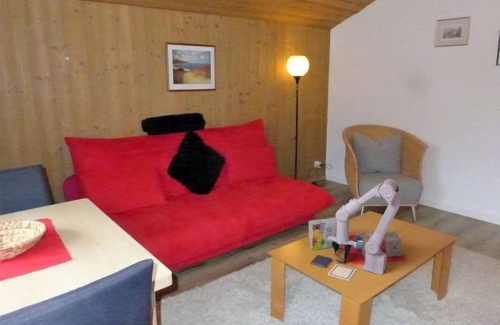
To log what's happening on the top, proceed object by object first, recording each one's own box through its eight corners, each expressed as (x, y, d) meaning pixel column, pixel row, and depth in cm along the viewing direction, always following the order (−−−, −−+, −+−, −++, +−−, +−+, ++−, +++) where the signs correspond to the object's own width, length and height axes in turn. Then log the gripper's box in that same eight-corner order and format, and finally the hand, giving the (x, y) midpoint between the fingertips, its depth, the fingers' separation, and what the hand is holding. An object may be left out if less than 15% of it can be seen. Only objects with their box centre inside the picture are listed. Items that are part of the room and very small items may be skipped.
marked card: (356, 270, 175) (356, 269, 175) (348, 281, 166) (348, 280, 166) (336, 264, 180) (336, 263, 180) (327, 274, 171) (327, 274, 171)
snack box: (343, 241, 205) (344, 215, 201) (348, 245, 199) (349, 219, 196) (308, 246, 200) (308, 220, 196) (312, 250, 194) (312, 224, 191)
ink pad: (332, 260, 184) (332, 258, 184) (325, 268, 177) (325, 266, 177) (317, 256, 188) (317, 254, 188) (310, 263, 181) (310, 261, 181)
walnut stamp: (347, 258, 184) (347, 249, 183) (343, 262, 180) (344, 253, 179) (339, 256, 186) (339, 247, 185) (335, 260, 182) (336, 251, 181)
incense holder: (381, 248, 195) (382, 230, 193) (397, 249, 194) (398, 230, 192) (384, 257, 186) (386, 238, 183) (402, 258, 185) (403, 239, 182)
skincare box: (366, 258, 185) (367, 235, 183) (361, 254, 190) (362, 232, 187) (377, 256, 187) (378, 234, 184) (372, 252, 191) (373, 230, 188)
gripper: (325, 231, 180) (324, 256, 183) (354, 237, 172) (353, 264, 175) (330, 226, 186) (330, 250, 189) (359, 232, 178) (358, 257, 181)
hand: (341, 256), depth 183 cm, fingers closed on walnut stamp, 4 cm apart
